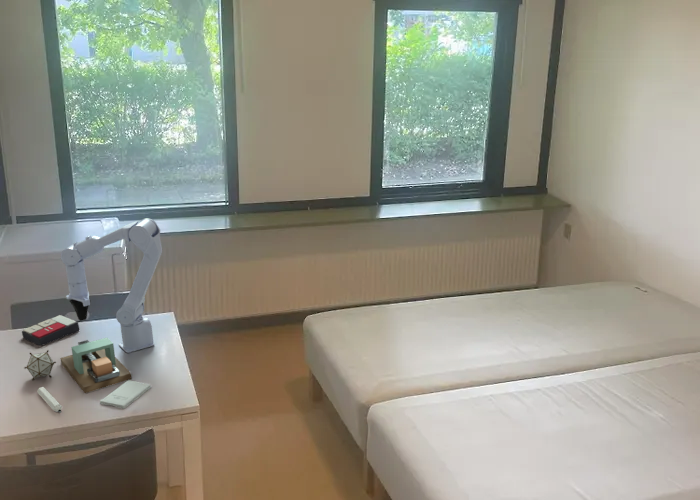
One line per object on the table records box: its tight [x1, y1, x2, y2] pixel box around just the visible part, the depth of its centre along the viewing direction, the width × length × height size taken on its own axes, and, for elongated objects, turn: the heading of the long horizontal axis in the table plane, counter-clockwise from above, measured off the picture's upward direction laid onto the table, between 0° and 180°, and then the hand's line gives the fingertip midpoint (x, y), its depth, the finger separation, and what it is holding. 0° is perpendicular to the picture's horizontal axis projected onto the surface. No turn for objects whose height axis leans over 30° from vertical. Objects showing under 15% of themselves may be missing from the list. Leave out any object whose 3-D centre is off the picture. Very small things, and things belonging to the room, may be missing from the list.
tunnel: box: [71, 337, 116, 374], centre depth 208 cm, size 11×6×7 cm, turn 128°
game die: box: [23, 349, 57, 381], centre depth 205 cm, size 9×8×10 cm
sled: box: [77, 339, 120, 383], centre depth 208 cm, size 7×22×4 cm, turn 38°
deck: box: [60, 349, 133, 394], centre depth 209 cm, size 14×24×2 cm, turn 38°
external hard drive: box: [99, 380, 152, 409], centre depth 196 cm, size 2×8×12 cm
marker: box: [36, 386, 63, 414], centre depth 191 cm, size 3×2×16 cm
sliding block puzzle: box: [21, 314, 80, 347], centre depth 235 cm, size 11×4×15 cm
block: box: [92, 357, 113, 376], centre depth 202 cm, size 4×4×4 cm
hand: (82, 319), depth 224 cm, fingers closed
